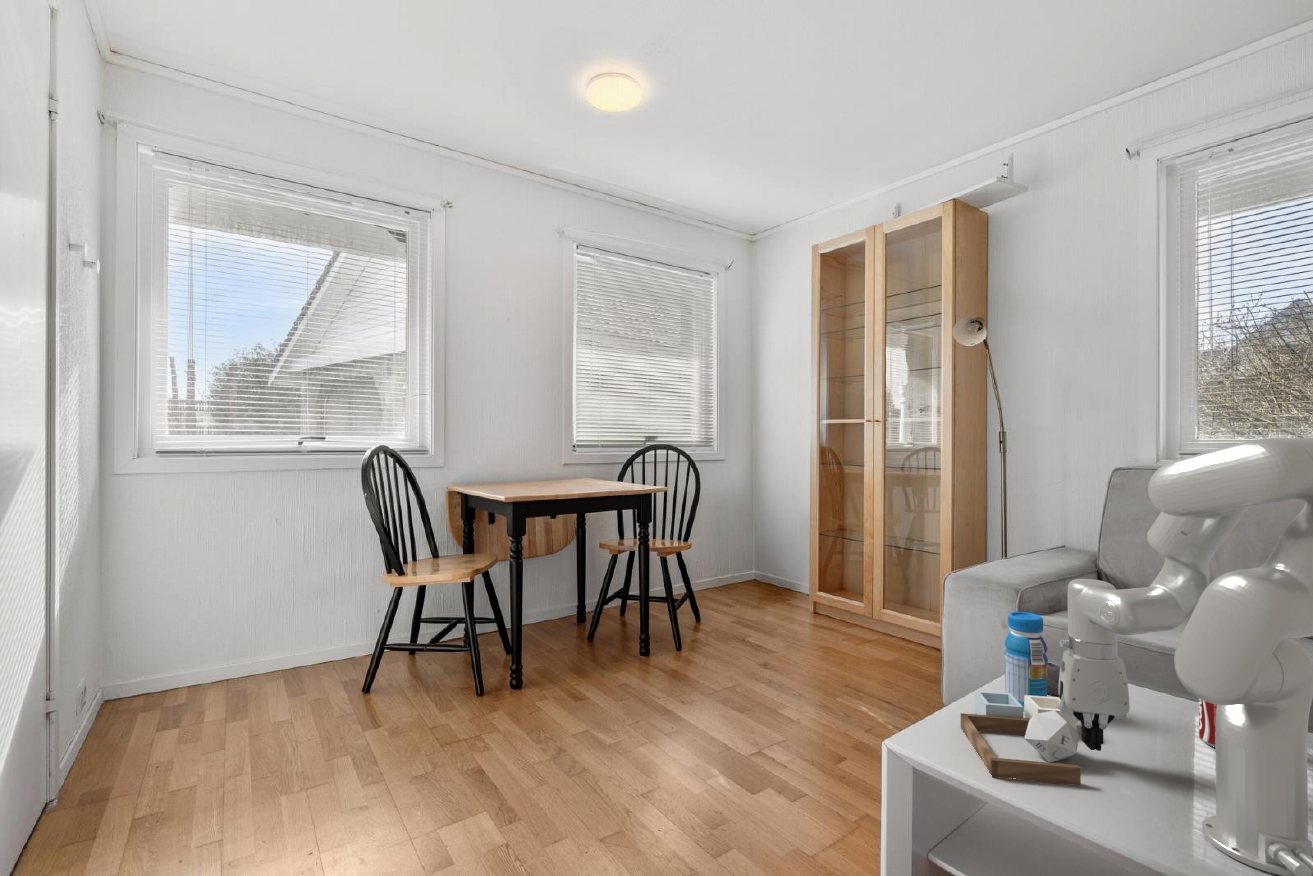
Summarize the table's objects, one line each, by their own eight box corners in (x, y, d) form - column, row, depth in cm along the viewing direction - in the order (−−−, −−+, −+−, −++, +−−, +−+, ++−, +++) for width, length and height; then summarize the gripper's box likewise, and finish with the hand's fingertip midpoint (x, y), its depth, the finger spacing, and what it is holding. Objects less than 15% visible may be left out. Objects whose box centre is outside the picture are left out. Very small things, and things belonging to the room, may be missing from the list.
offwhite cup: (1076, 737, 123) (1076, 712, 123) (1038, 734, 124) (1037, 709, 124) (1060, 721, 130) (1060, 697, 130) (1024, 718, 131) (1024, 695, 131)
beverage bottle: (1002, 707, 137) (1001, 616, 137) (1006, 694, 144) (1005, 608, 144) (1047, 716, 132) (1046, 623, 132) (1049, 702, 139) (1048, 614, 139)
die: (1018, 760, 116) (1047, 733, 110) (1013, 720, 123) (1040, 693, 117) (1064, 779, 114) (1095, 753, 109) (1055, 738, 121) (1085, 712, 116)
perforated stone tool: (1107, 701, 140) (1106, 670, 140) (1105, 709, 136) (1105, 677, 136) (1030, 684, 150) (1030, 656, 150) (1026, 691, 146) (1026, 662, 146)
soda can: (1255, 756, 116) (1255, 692, 116) (1214, 752, 117) (1213, 689, 117) (1230, 739, 122) (1229, 678, 122) (1190, 735, 123) (1190, 675, 124)
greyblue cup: (1023, 731, 125) (1023, 707, 125) (986, 728, 127) (986, 704, 127) (1010, 716, 132) (1010, 693, 132) (975, 714, 134) (975, 690, 134)
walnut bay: (1080, 785, 106) (1080, 768, 106) (991, 777, 109) (991, 760, 109) (1035, 733, 124) (1035, 719, 125) (960, 727, 127) (960, 713, 127)
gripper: (1055, 651, 112) (1055, 753, 112) (1149, 657, 109) (1150, 761, 109) (1039, 638, 119) (1039, 733, 119) (1126, 643, 116) (1127, 741, 116)
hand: (1092, 746), depth 114 cm, fingers closed
